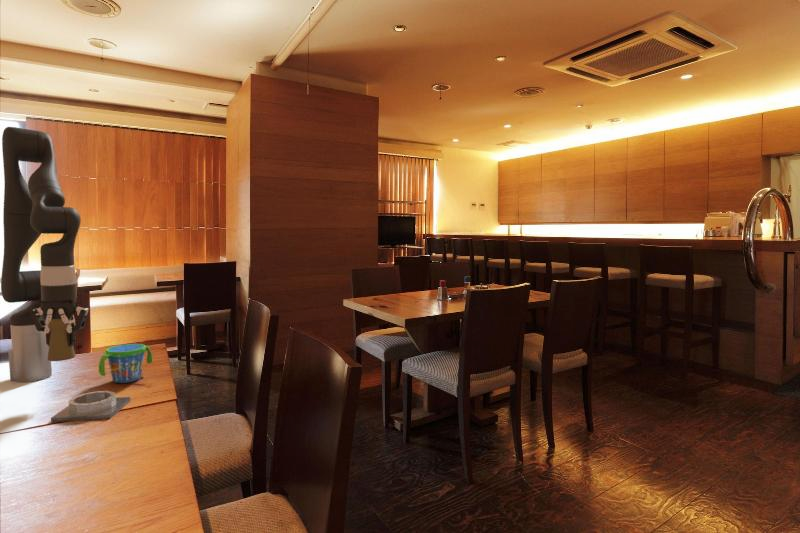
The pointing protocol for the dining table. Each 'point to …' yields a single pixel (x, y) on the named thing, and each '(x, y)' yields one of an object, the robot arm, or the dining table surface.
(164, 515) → the dining table surface
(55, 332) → the cork
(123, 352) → the snack cup
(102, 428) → the dining table surface
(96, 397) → the hub
